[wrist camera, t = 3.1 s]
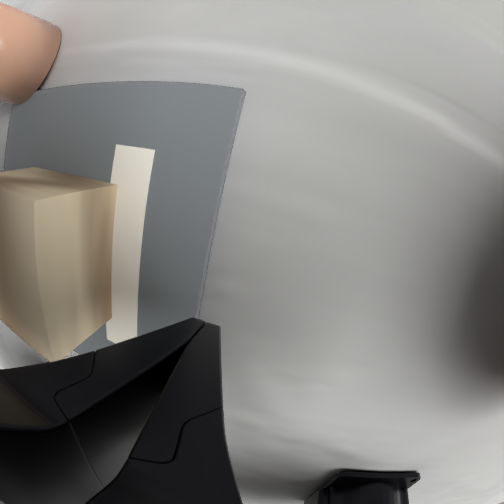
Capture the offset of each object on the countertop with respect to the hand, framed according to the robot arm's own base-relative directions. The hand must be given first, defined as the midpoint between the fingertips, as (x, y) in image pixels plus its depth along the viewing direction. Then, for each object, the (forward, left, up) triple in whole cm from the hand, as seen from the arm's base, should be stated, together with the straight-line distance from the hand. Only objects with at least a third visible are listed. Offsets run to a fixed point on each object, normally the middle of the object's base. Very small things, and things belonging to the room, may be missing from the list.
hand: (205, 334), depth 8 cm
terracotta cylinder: (+14, -9, -2) cm, 17 cm away
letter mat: (+8, 0, -3) cm, 8 cm away
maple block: (+8, 0, -2) cm, 8 cm away
